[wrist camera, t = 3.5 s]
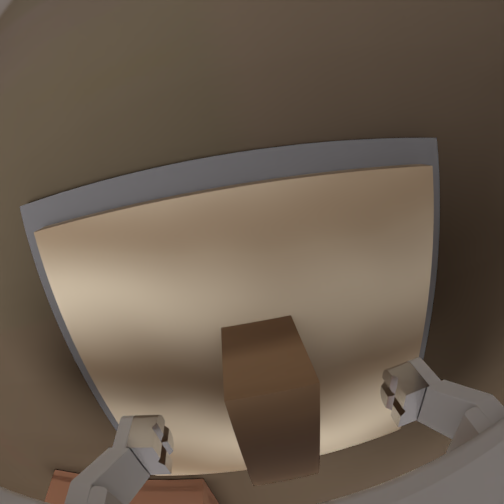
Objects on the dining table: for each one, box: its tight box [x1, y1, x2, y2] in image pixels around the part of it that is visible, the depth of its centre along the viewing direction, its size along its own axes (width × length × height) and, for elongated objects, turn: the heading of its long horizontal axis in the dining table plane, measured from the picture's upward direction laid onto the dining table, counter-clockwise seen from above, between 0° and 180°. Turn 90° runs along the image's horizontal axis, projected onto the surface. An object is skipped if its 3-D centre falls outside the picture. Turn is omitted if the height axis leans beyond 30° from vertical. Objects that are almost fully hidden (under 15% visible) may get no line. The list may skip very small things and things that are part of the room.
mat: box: [20, 138, 440, 431], centre depth 12 cm, size 16×16×1 cm
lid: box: [34, 164, 434, 486], centre depth 10 cm, size 14×14×4 cm
